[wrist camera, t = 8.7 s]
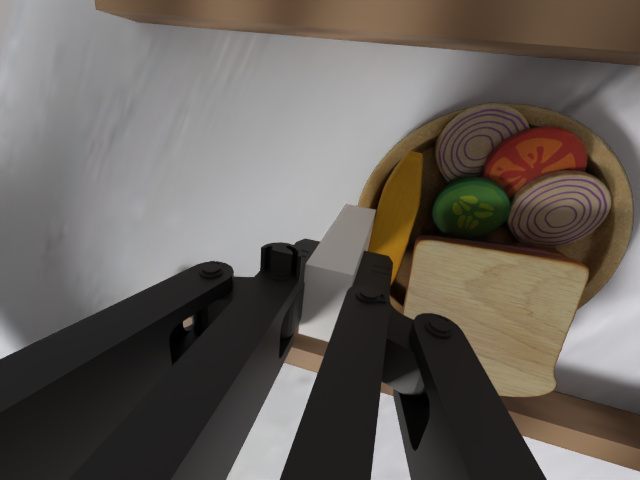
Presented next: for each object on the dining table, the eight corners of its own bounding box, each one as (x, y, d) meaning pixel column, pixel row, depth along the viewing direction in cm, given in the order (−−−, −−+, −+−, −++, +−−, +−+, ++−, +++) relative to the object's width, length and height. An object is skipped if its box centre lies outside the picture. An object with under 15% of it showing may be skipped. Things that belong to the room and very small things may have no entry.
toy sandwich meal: (685, 137, 13) (816, 152, 9) (530, 365, 19) (565, 440, 15) (391, 79, 15) (383, 69, 11) (334, 302, 21) (314, 351, 17)
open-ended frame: (169, 301, 25) (115, 343, 20) (133, -13, 16) (28, -58, 12) (665, 443, 18) (748, 552, 14) (1036, 42, 10) (1561, -12, 5)
